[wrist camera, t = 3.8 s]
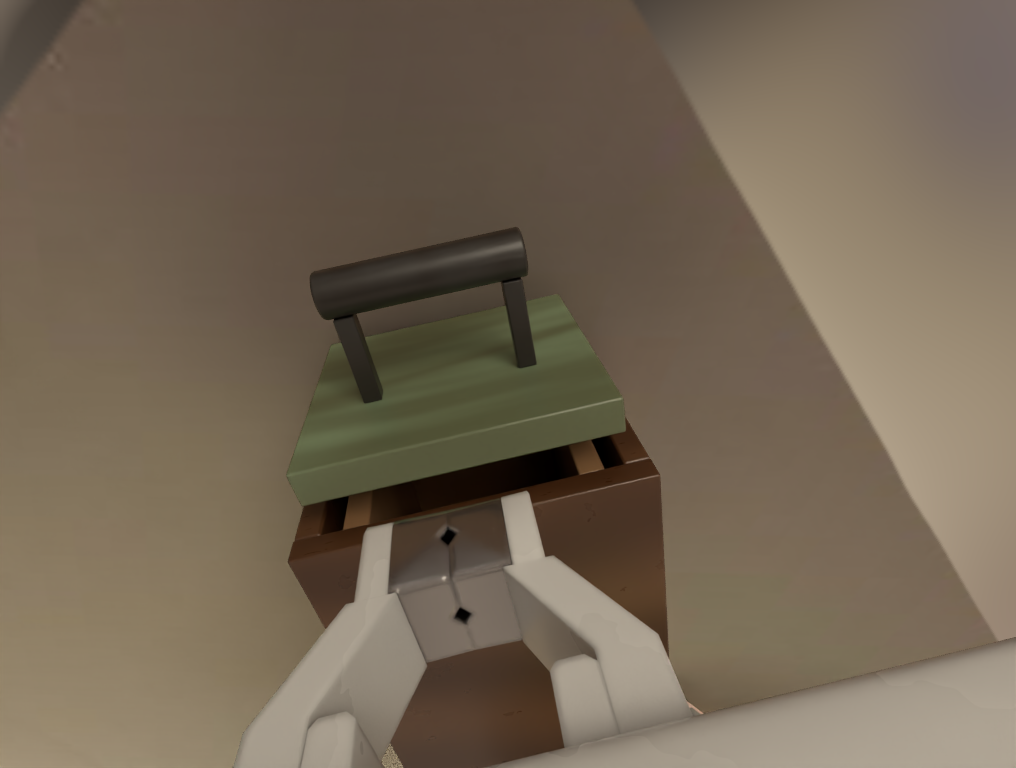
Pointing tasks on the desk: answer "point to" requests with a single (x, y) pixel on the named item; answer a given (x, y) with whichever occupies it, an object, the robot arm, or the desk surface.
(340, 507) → the cabinet
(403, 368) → the drawer
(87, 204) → the desk surface
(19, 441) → the desk surface
